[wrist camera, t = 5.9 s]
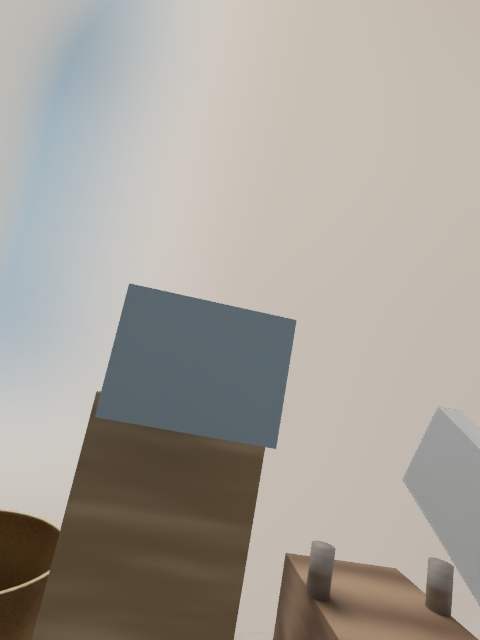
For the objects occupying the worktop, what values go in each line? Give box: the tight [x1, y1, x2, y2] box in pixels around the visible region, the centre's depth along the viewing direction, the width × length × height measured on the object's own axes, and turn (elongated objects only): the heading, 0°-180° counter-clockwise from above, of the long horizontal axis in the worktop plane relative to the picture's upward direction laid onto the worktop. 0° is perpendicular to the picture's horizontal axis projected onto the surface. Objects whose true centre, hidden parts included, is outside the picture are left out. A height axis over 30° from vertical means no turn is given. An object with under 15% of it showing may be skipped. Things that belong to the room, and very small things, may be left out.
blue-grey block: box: [95, 284, 296, 449], centre depth 19 cm, size 22×4×3 cm, turn 9°
